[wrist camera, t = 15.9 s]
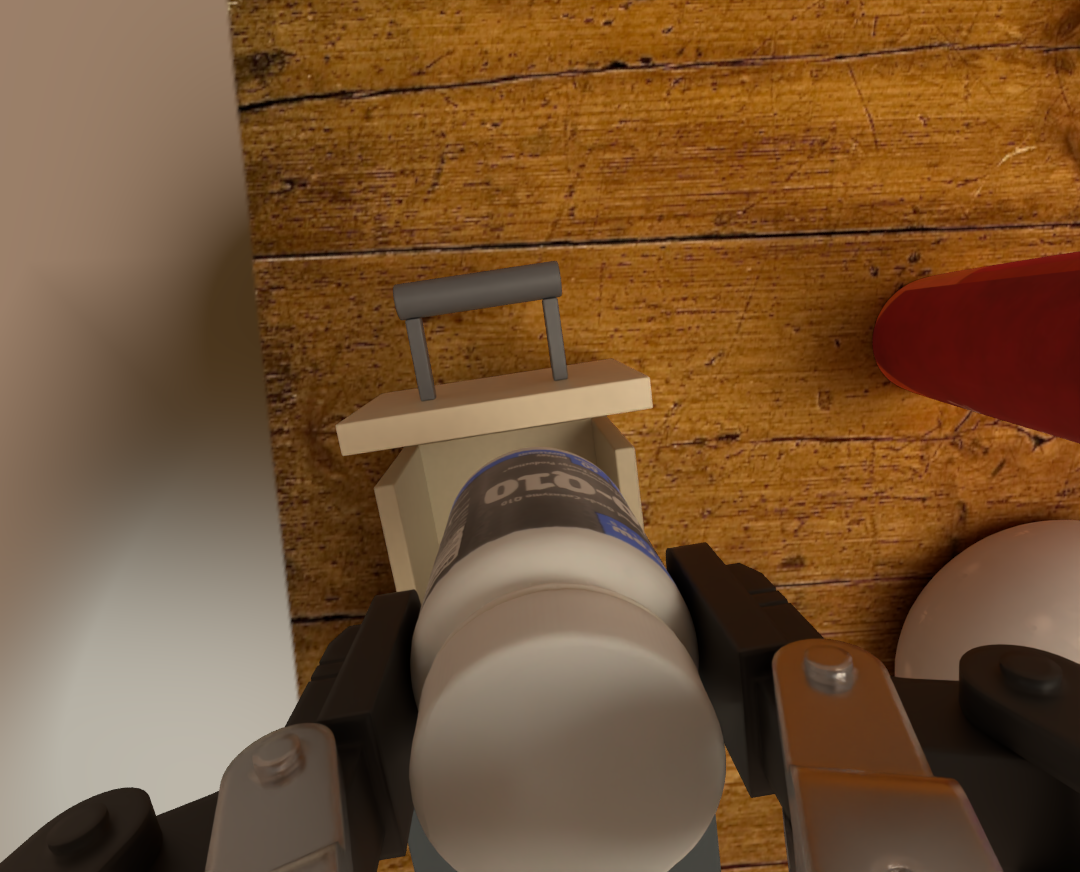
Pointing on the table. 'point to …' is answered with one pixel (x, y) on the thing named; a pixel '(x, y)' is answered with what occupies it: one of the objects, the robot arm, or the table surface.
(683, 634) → the pill bottle
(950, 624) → the teapot
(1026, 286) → the coffee cup
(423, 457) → the storage drawer
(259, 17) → the table surface
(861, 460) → the table surface
